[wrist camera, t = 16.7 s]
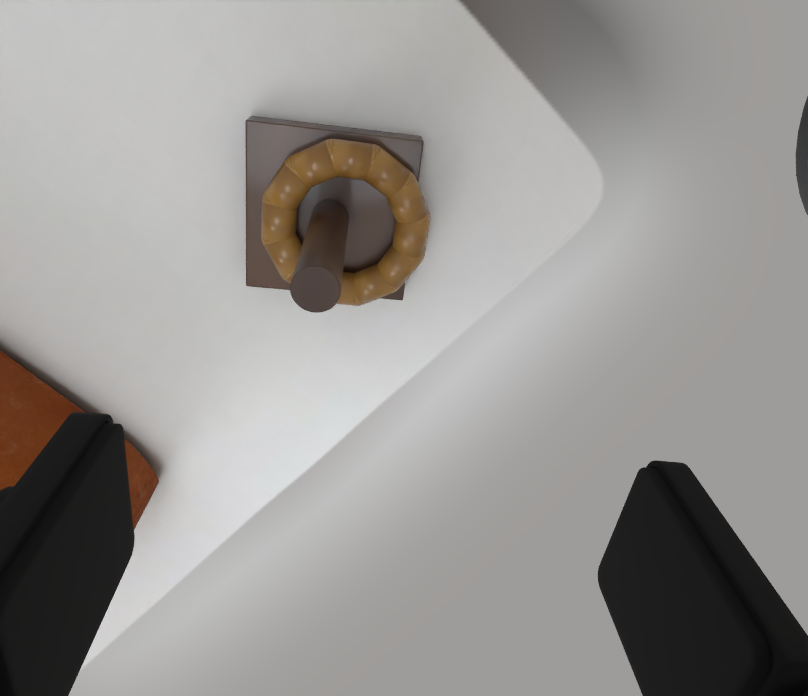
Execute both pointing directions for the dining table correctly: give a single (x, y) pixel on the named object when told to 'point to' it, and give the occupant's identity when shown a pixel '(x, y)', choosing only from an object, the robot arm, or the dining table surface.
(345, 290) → the ring
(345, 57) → the dining table surface
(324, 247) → the stand
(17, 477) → the bread
